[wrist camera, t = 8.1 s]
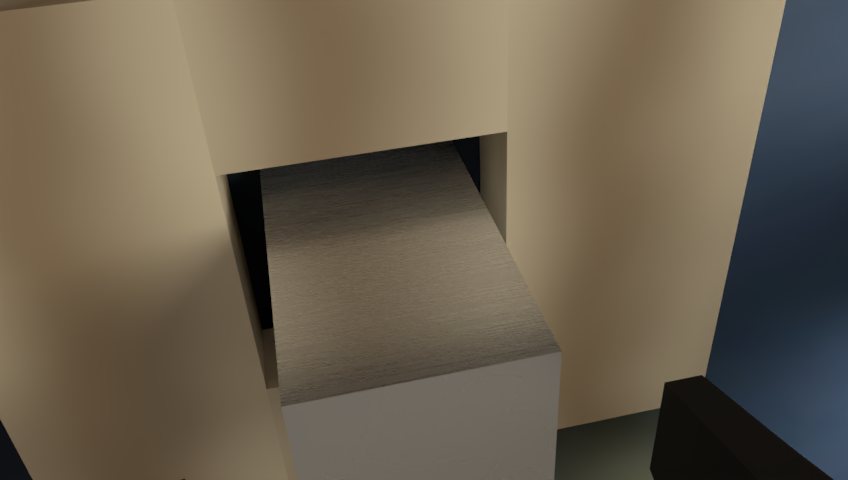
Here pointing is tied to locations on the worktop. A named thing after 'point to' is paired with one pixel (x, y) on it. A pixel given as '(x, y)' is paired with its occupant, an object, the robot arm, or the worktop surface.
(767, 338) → the worktop surface
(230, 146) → the socket board
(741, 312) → the worktop surface
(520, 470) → the square peg
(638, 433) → the round peg
